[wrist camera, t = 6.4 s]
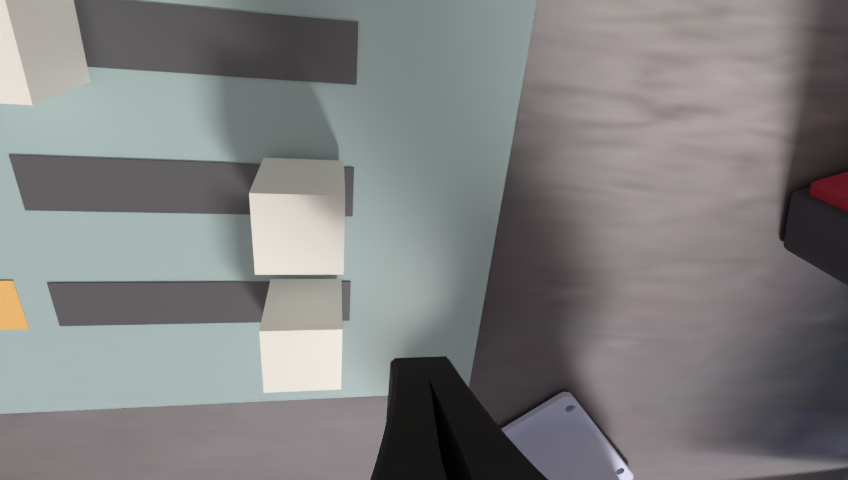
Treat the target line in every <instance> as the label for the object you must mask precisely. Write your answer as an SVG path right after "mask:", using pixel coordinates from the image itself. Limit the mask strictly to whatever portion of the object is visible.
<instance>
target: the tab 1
mask: <svg viewBox="0 0 848 480" xmlns="http://www.w3.org/2000/svg"><path fill="white" fill-rule="evenodd" d="M89 82H90V77H89V72H88V67H87V62H86V57H85V53H84V48H83V43H82V38H81V33H80V28H79V23H78V19H77V14H76V9H75V4H74V0H0V104H17V105H35V104H37V103H40V102H42V101H45V100H47V99H50V98H52V97H55V96H57V95H60V94H62V93H65V92H67V91H70V90H72V89H74V88H77V87H79V86H82V85H84V84H87V83H89Z"/></svg>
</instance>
